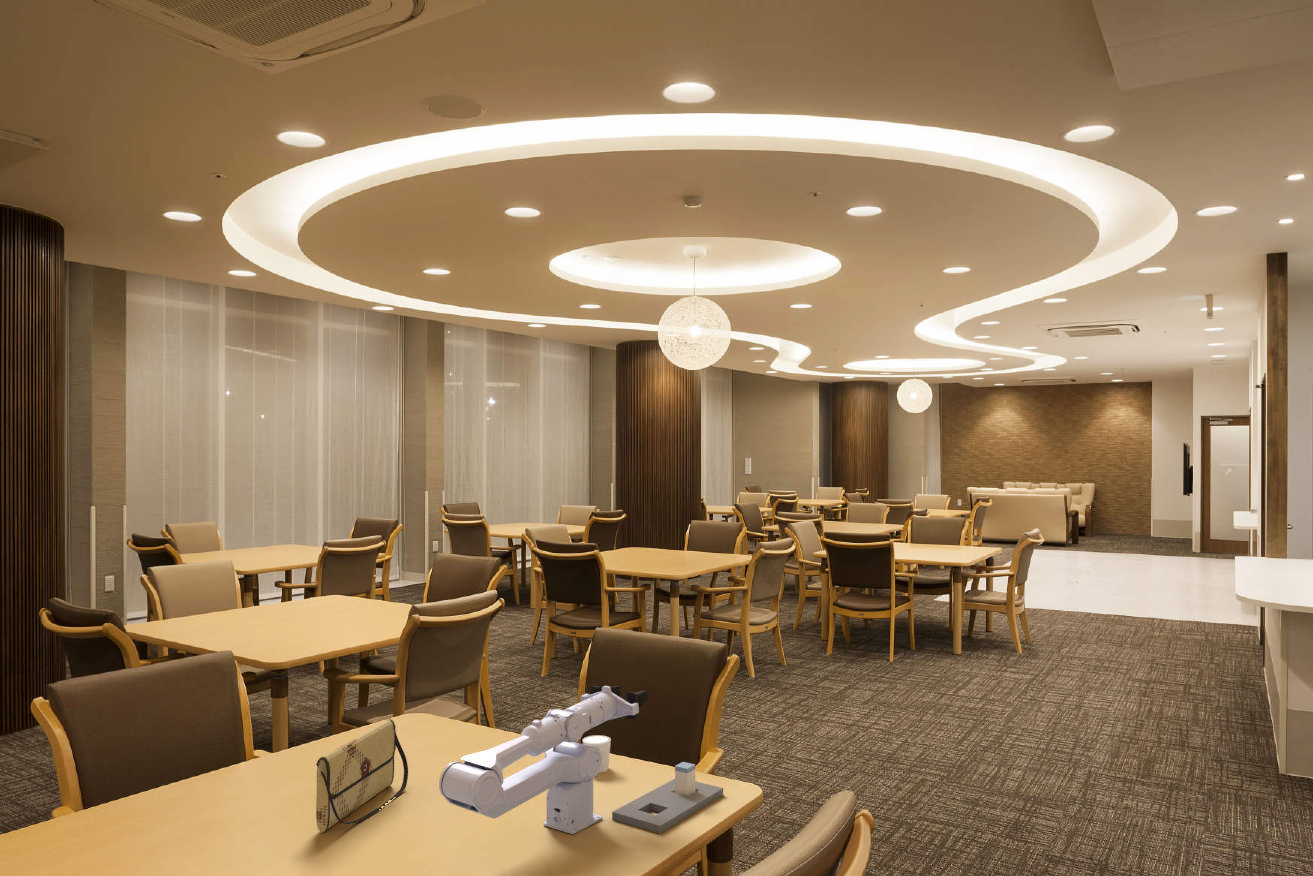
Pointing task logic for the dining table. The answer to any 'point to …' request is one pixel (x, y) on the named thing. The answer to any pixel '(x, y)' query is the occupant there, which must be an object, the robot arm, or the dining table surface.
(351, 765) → the clutch purse
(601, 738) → the white round cup
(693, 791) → the plug
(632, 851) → the dining table surface
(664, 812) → the socket board
